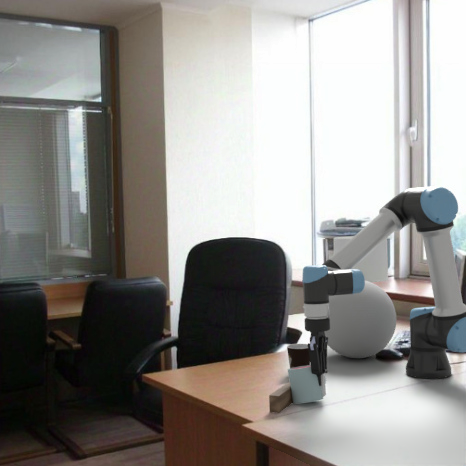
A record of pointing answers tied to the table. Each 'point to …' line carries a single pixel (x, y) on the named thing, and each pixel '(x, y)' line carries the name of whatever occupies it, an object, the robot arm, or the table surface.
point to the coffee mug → (298, 355)
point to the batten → (280, 399)
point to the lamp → (369, 260)
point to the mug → (304, 385)
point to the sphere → (361, 322)
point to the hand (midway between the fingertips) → (320, 395)
